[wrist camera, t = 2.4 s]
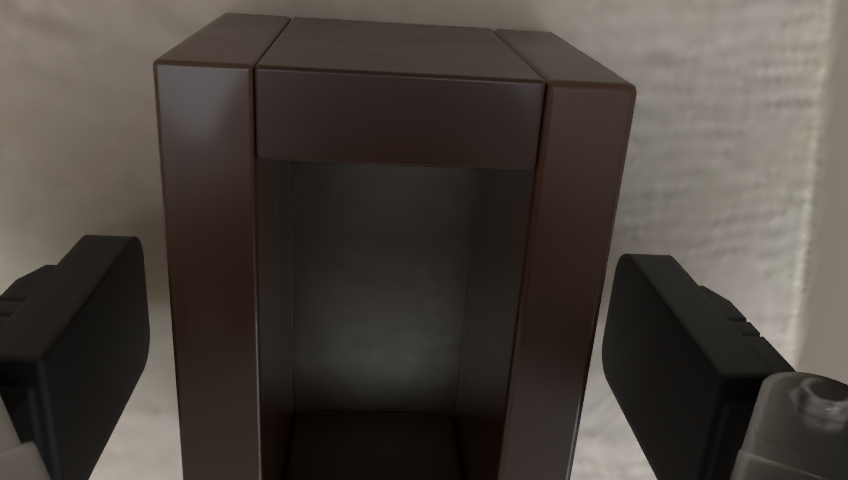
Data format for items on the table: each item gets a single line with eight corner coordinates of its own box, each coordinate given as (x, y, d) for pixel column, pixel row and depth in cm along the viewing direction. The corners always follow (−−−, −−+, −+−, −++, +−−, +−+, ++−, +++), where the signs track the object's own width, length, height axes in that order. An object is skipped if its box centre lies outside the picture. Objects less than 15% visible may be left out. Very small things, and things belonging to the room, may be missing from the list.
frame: (223, 12, 11) (150, 60, 8) (556, 31, 12) (640, 86, 8) (238, 453, 14) (194, 639, 11) (502, 456, 15) (545, 635, 11)
